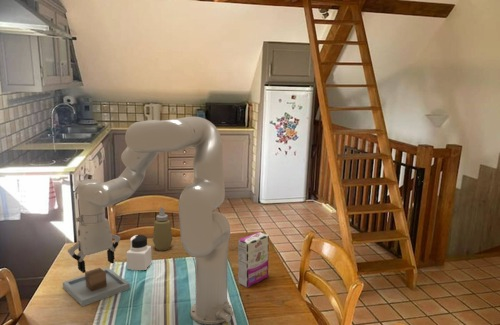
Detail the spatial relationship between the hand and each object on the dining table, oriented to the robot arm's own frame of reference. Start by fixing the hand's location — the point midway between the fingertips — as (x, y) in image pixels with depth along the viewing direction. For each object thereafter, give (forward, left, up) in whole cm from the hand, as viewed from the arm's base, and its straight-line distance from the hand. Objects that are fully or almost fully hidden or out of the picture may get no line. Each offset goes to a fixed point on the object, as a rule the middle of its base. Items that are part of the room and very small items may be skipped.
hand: (97, 266), depth 132 cm
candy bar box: (-31, -43, -8) cm, 54 cm away
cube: (+1, 0, -7) cm, 7 cm away
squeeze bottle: (+15, -35, -8) cm, 39 cm away
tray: (+1, 0, -8) cm, 8 cm away
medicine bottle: (+6, -19, -8) cm, 21 cm away
